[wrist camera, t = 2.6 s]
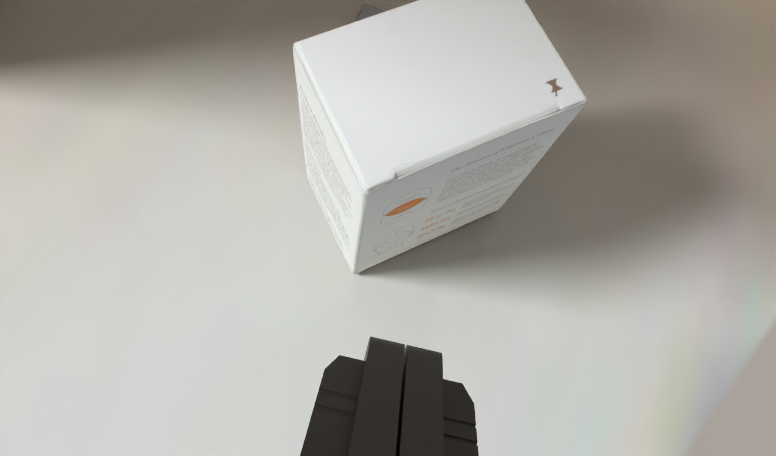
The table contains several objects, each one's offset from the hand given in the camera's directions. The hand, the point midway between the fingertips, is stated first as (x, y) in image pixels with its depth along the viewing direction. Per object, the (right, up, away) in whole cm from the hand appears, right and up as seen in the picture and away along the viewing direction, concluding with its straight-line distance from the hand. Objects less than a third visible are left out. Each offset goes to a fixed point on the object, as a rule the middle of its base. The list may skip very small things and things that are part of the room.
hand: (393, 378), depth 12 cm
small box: (+1, +5, +16) cm, 17 cm away
